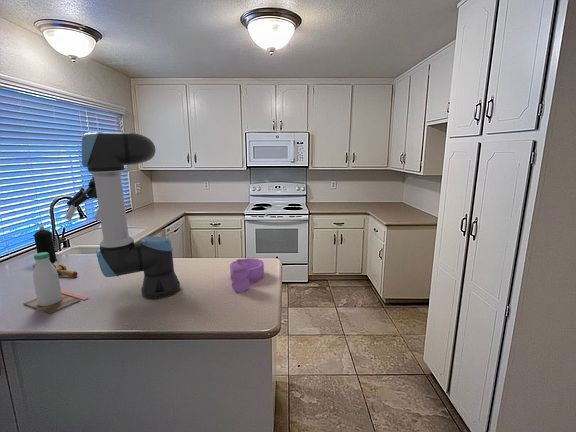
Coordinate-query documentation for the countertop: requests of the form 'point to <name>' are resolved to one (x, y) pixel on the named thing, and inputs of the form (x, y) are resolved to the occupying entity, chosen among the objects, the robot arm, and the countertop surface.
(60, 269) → the kendama
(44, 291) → the milk bottle
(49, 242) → the aerosol can
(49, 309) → the board
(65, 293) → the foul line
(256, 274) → the container set
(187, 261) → the countertop surface
